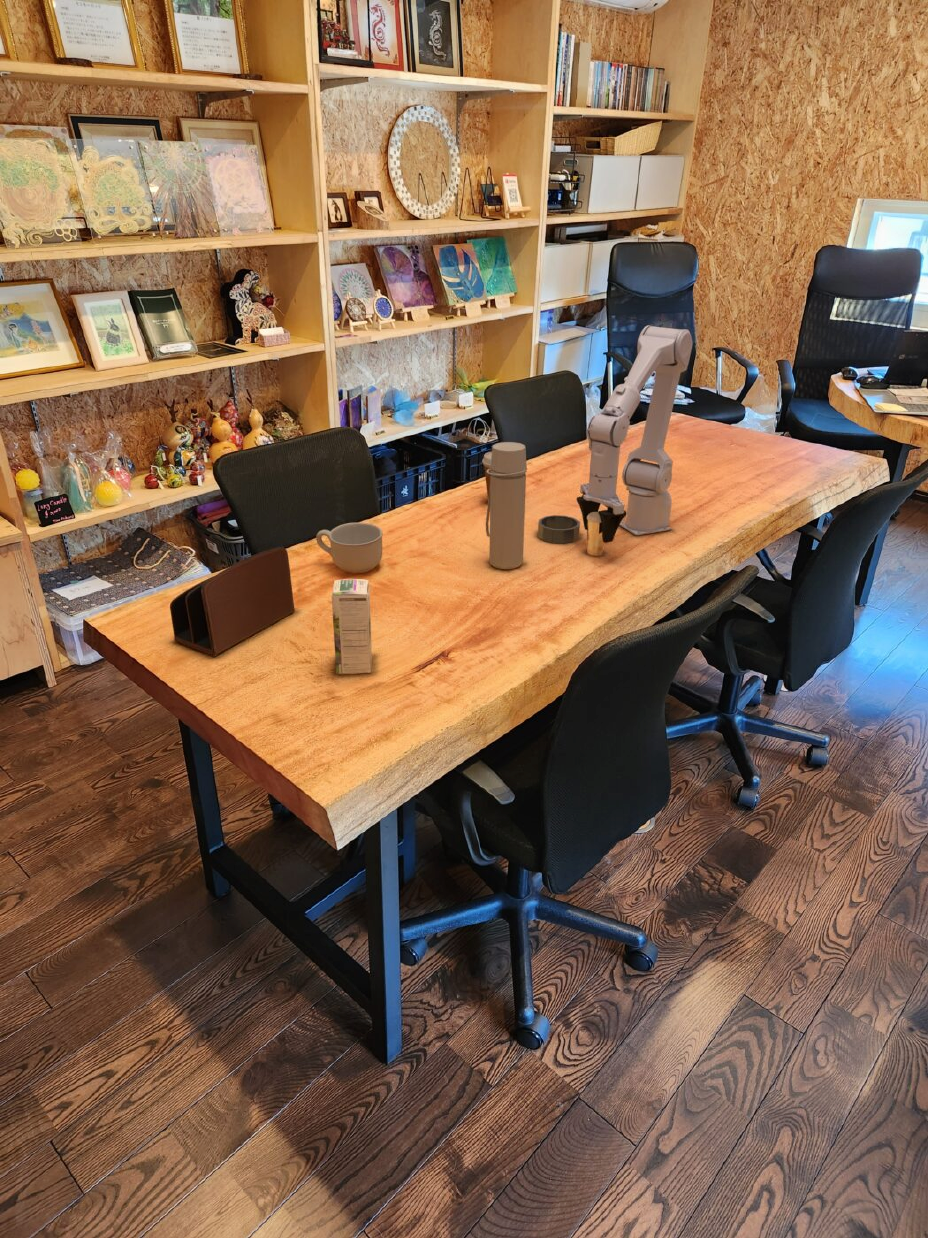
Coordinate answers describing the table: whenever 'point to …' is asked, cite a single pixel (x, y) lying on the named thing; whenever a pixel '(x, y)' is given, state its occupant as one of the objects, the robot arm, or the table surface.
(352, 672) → the syrup box
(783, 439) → the table surface
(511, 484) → the water bottle
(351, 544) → the teacup
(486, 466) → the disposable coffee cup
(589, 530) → the milkshake
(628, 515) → the robot arm
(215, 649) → the letter holder
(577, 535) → the brown hollow ring
